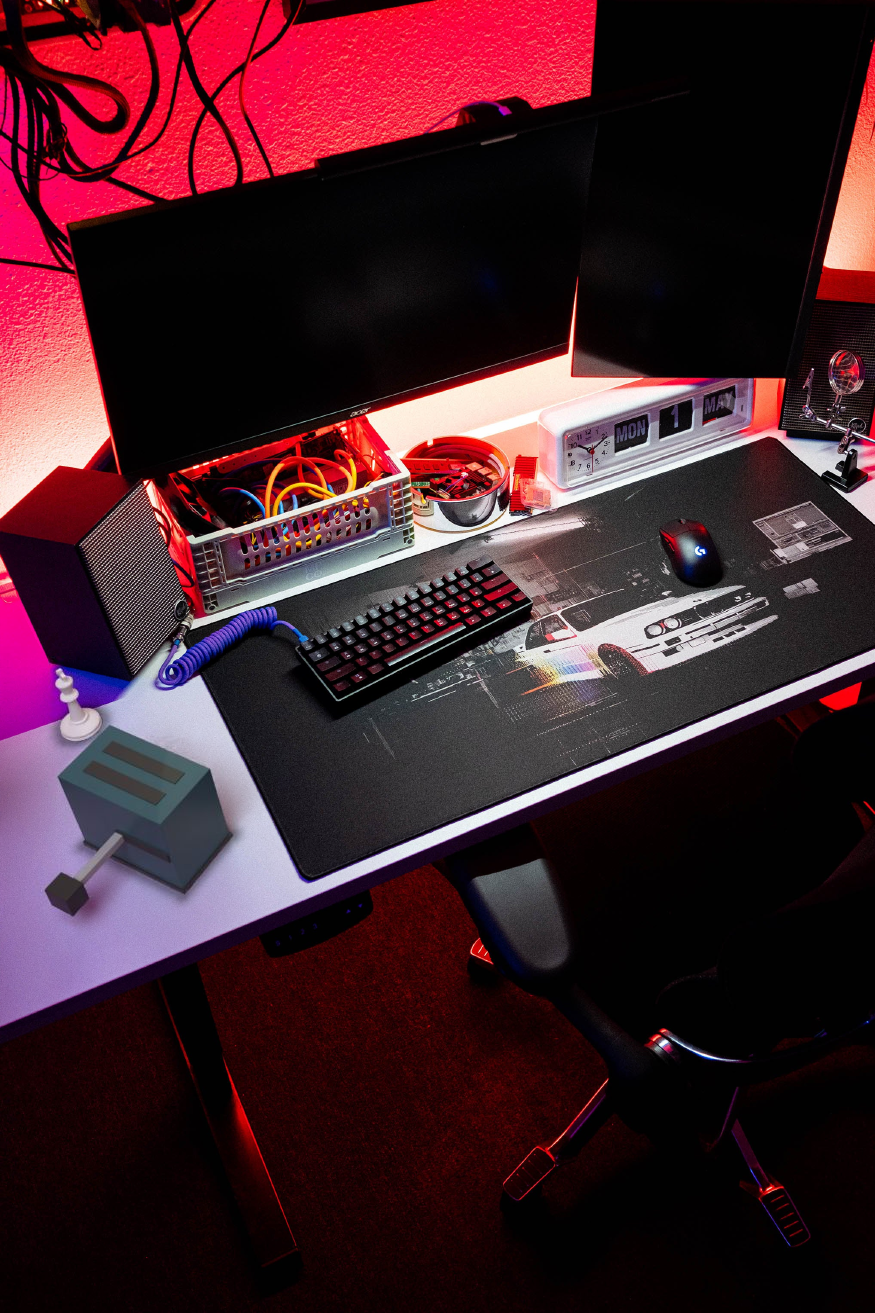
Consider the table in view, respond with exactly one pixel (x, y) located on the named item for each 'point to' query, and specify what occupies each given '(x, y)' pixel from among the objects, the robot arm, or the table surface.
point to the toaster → (147, 807)
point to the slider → (79, 880)
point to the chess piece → (76, 712)
